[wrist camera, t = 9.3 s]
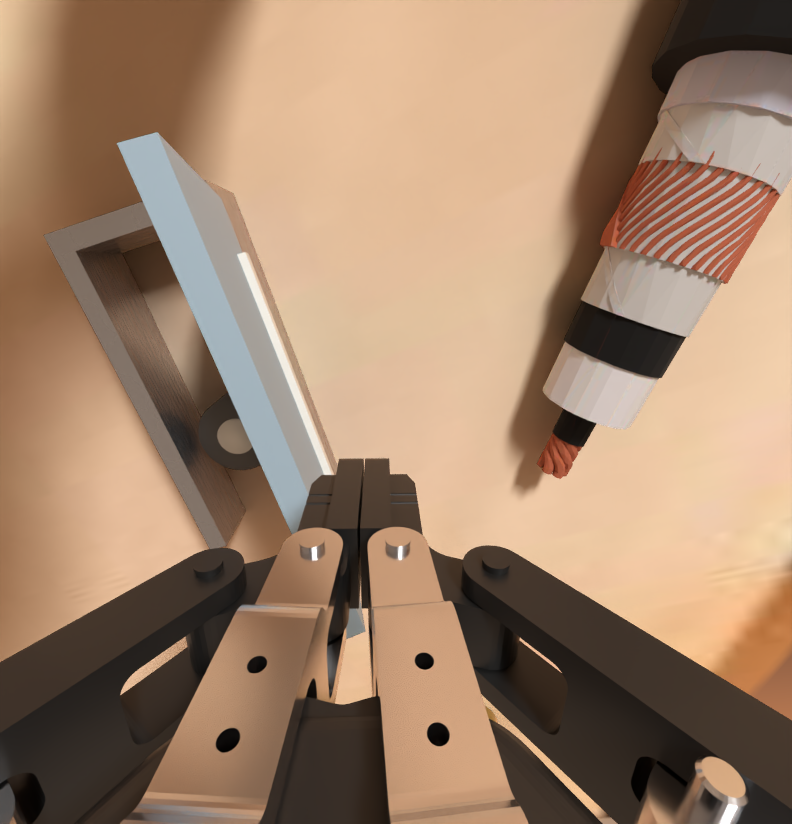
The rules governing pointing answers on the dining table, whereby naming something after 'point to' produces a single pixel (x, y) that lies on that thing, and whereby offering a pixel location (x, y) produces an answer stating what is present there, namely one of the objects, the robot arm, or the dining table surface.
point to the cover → (233, 324)
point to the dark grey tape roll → (226, 436)
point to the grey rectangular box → (159, 354)
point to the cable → (679, 212)
